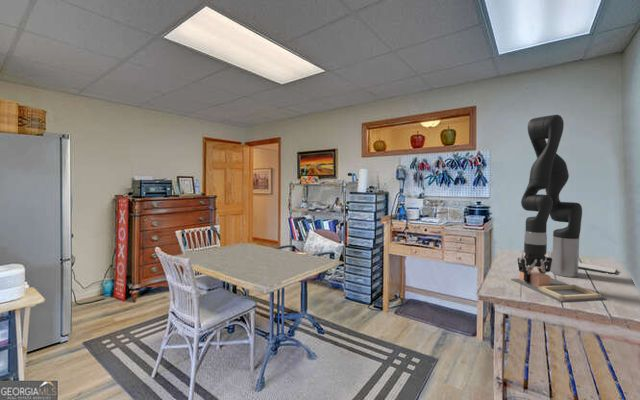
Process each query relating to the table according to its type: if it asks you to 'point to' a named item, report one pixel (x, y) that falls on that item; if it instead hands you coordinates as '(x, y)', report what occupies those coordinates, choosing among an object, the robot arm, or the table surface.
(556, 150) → the robot arm
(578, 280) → the table surface
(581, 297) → the mat
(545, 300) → the table surface
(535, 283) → the terracotta block
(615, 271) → the phone case
